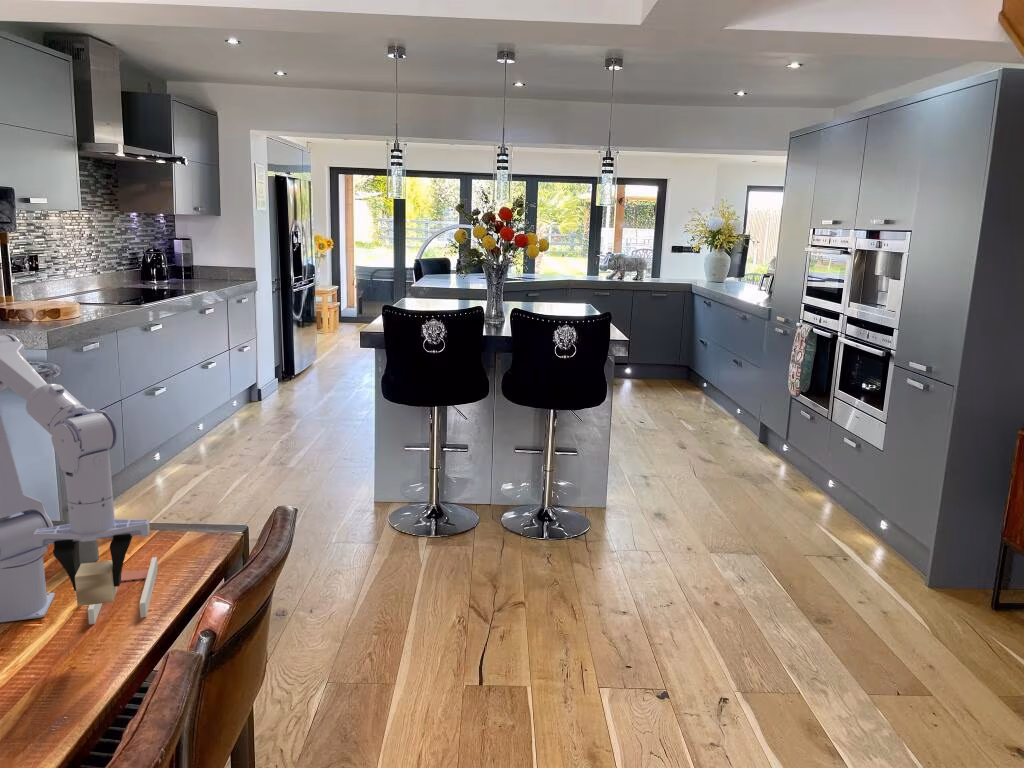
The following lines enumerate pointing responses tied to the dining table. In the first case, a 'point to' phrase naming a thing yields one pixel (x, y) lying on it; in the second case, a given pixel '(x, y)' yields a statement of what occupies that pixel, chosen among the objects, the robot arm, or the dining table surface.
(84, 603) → the block
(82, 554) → the grey hollow tube
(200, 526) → the dining table surface
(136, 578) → the pad
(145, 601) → the channel
